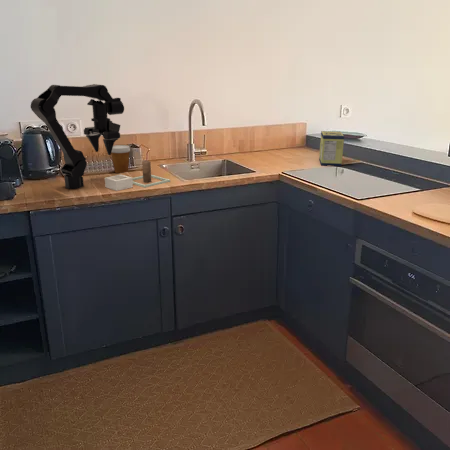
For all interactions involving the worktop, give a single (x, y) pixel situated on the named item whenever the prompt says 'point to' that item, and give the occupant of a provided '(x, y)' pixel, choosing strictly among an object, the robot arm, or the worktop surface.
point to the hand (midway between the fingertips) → (103, 153)
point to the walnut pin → (146, 171)
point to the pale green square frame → (151, 183)
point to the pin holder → (118, 182)
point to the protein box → (331, 148)
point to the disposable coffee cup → (120, 158)
